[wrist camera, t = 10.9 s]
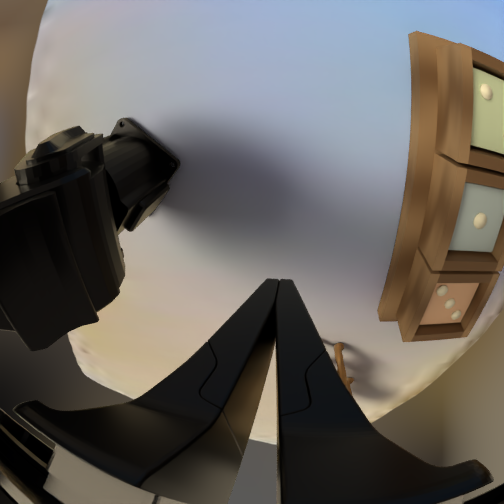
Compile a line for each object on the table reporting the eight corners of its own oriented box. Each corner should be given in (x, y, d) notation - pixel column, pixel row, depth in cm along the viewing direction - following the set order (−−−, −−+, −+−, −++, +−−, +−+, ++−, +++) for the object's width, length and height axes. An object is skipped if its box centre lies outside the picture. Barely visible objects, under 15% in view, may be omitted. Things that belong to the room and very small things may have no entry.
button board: (458, 308, 22) (473, 341, 18) (377, 310, 24) (385, 349, 20) (509, 71, 9) (546, 76, 6) (408, 34, 11) (437, 22, 7)
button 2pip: (501, 150, 12) (518, 159, 10) (452, 137, 13) (468, 144, 11) (505, 86, 9) (523, 90, 8) (453, 66, 10) (471, 66, 8)
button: (480, 238, 16) (493, 253, 14) (434, 235, 17) (445, 251, 15) (495, 181, 14) (511, 192, 12) (447, 171, 14) (462, 182, 13)
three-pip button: (453, 307, 20) (460, 323, 18) (410, 308, 21) (416, 326, 19) (472, 264, 18) (482, 279, 16) (426, 262, 18) (435, 279, 17)
